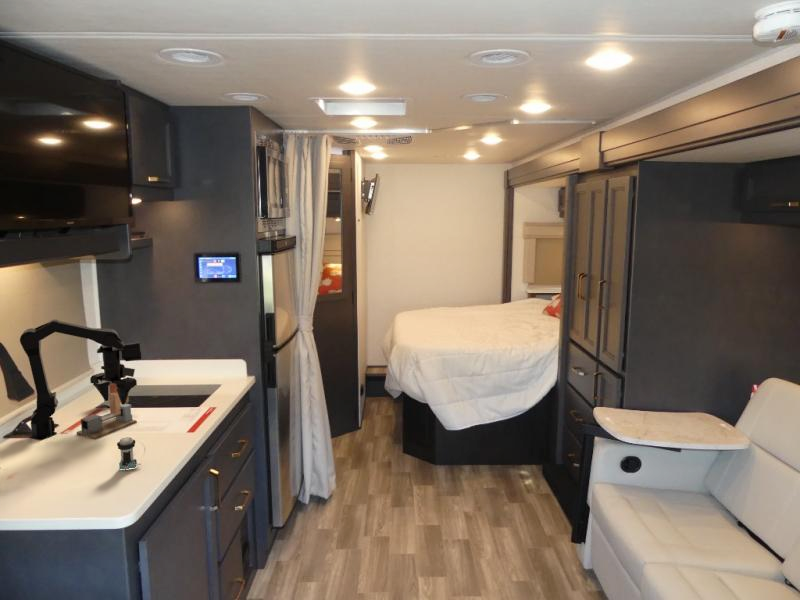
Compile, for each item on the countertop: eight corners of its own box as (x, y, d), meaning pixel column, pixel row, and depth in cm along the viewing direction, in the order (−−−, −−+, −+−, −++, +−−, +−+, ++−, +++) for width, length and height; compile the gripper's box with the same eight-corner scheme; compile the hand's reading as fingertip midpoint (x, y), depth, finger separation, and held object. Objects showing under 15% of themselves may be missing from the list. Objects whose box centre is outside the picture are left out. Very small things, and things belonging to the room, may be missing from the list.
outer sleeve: (89, 435, 212) (88, 421, 211) (81, 433, 214) (80, 419, 213) (102, 430, 217) (101, 416, 216) (95, 428, 219) (94, 414, 218)
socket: (126, 422, 225) (124, 407, 224) (115, 419, 228) (114, 404, 227) (132, 419, 228) (131, 404, 227) (122, 417, 230) (121, 402, 229)
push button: (143, 464, 191) (141, 435, 190) (138, 472, 186) (136, 442, 184) (122, 465, 190) (120, 436, 189) (116, 473, 185) (114, 443, 184)
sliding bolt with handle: (96, 425, 215) (94, 402, 213) (90, 424, 216) (88, 400, 215) (128, 413, 227) (126, 391, 226) (122, 412, 229) (120, 390, 227)
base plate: (95, 439, 211) (95, 436, 211) (76, 434, 215) (76, 432, 215) (136, 422, 227) (136, 420, 227) (118, 418, 231) (118, 416, 231)
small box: (110, 407, 244) (108, 383, 242) (103, 404, 247) (101, 380, 246) (129, 402, 250) (127, 378, 249) (122, 399, 254) (120, 376, 252)
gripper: (147, 360, 224) (149, 399, 227) (113, 355, 232) (116, 392, 235) (122, 367, 214) (125, 408, 217) (87, 361, 222) (91, 401, 225)
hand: (115, 402), depth 223 cm, fingers open, 9 cm apart
